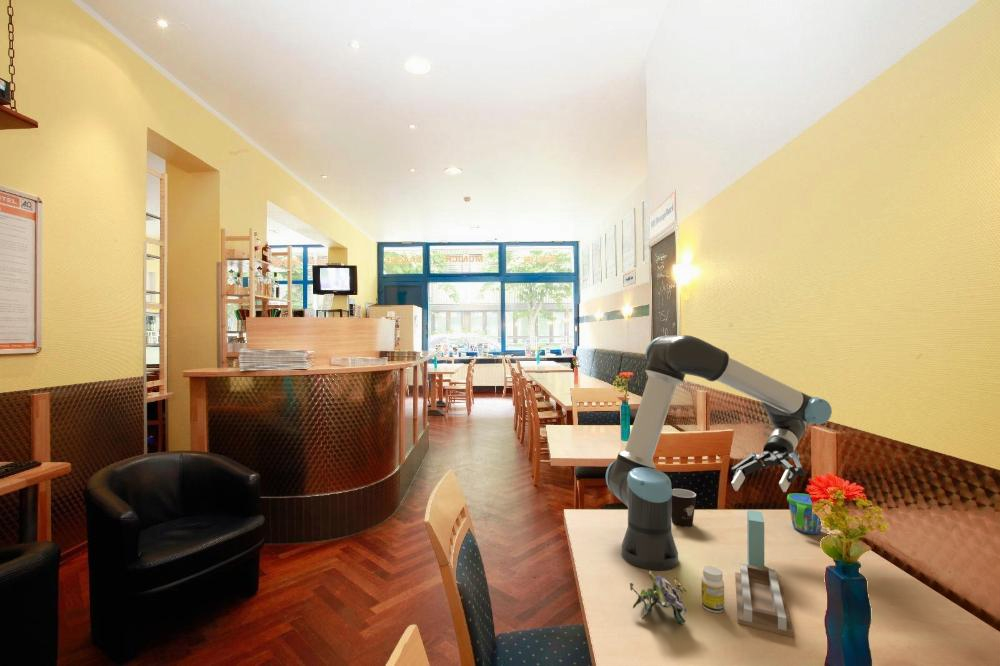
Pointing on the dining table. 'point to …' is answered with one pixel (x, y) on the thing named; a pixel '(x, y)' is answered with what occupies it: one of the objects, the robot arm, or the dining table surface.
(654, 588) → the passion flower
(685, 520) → the coffee mug
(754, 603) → the track
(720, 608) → the supplement bottle
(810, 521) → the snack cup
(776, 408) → the robot arm
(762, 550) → the teal rectangular block
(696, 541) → the dining table surface
